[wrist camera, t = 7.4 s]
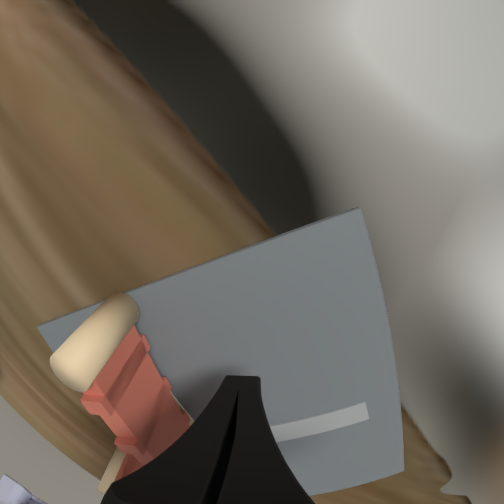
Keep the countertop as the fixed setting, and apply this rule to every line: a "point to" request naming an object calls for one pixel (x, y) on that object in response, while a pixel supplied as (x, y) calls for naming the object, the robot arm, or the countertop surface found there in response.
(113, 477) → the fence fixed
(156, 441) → the fence panel
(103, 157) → the countertop surface
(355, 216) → the board
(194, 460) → the robot arm
